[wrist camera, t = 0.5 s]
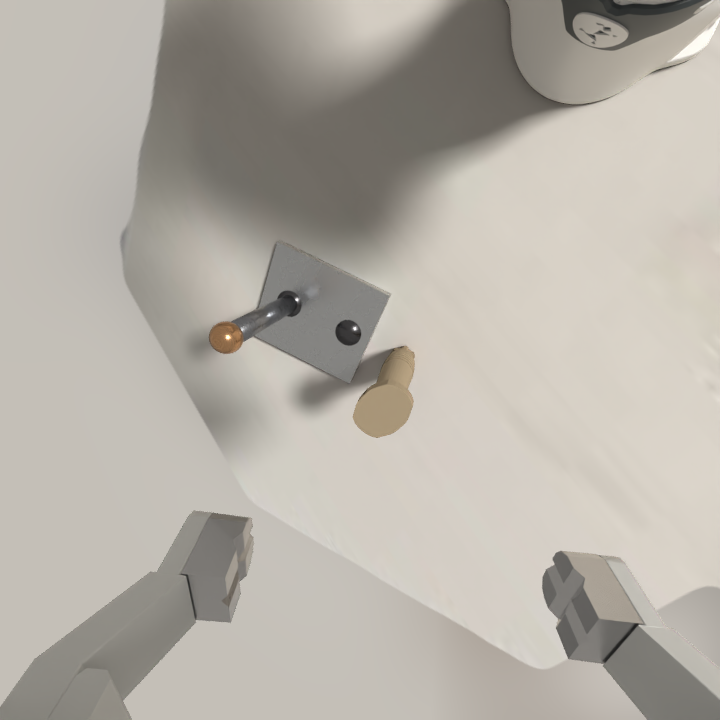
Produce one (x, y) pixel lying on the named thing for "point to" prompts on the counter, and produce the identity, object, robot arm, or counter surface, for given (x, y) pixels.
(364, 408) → the handle
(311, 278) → the plate
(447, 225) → the counter surface
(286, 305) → the lever with round knob
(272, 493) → the counter surface
